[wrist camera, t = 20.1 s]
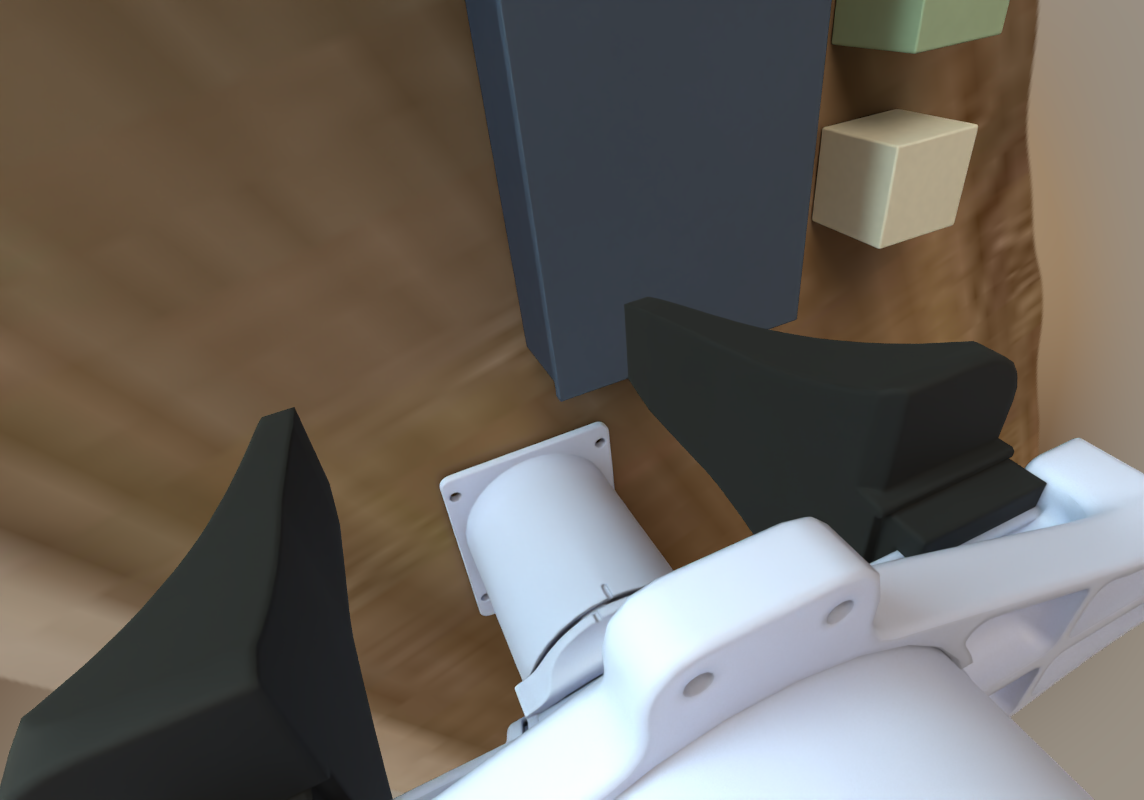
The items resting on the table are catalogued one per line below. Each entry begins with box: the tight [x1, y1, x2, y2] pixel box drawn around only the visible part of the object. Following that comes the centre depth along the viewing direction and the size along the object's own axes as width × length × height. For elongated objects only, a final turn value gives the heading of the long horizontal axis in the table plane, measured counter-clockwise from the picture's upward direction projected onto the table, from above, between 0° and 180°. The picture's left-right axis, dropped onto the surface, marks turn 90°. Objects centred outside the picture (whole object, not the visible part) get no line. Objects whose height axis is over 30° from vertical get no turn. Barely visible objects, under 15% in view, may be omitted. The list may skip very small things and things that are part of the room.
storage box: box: [465, 0, 832, 401], centre depth 21 cm, size 16×10×4 cm, turn 7°
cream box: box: [812, 109, 978, 249], centre depth 26 cm, size 4×4×4 cm
